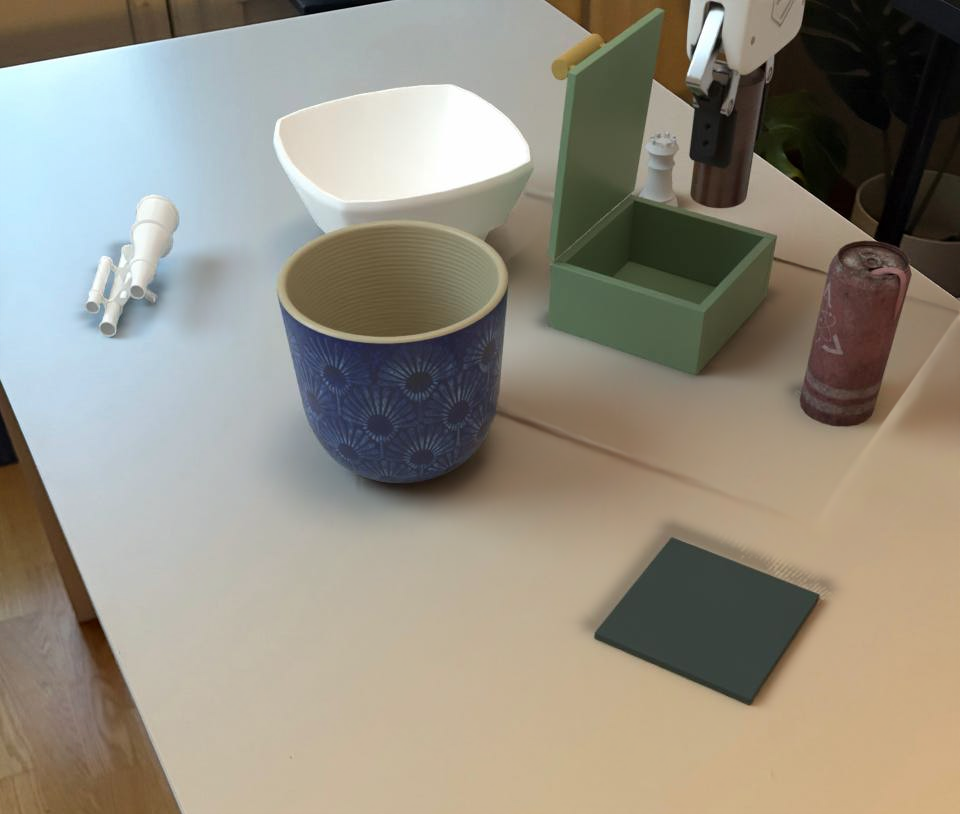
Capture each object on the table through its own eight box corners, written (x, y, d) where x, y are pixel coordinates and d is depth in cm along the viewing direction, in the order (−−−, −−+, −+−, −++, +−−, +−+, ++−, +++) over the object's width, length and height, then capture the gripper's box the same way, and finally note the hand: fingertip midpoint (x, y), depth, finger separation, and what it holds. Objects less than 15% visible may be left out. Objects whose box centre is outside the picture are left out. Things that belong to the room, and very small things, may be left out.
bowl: (340, 342, 111) (326, 219, 102) (266, 232, 124) (248, 114, 115) (558, 287, 116) (563, 165, 107) (465, 187, 129) (463, 71, 120)
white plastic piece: (129, 354, 113) (78, 319, 110) (150, 275, 122) (102, 241, 119) (177, 296, 109) (124, 258, 106) (194, 219, 118) (146, 182, 115)
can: (849, 445, 100) (891, 288, 89) (784, 414, 103) (817, 258, 92) (887, 412, 103) (933, 256, 92) (823, 383, 106) (860, 228, 95)
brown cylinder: (756, 190, 96) (775, 69, 89) (731, 214, 94) (749, 91, 87) (705, 176, 98) (721, 56, 91) (680, 199, 95) (694, 78, 88)
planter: (363, 542, 93) (344, 368, 81) (267, 429, 102) (237, 258, 91) (547, 466, 99) (553, 294, 87) (440, 366, 108) (433, 198, 96)
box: (764, 305, 114) (777, 235, 108) (694, 384, 106) (704, 312, 101) (624, 263, 119) (630, 193, 114) (547, 335, 111) (550, 264, 106)
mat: (818, 600, 88) (820, 594, 88) (749, 705, 82) (751, 699, 82) (670, 542, 93) (671, 536, 92) (593, 638, 86) (594, 632, 86)
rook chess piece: (625, 220, 124) (632, 140, 118) (647, 202, 127) (654, 123, 120) (663, 232, 123) (672, 152, 116) (685, 214, 125) (694, 134, 119)
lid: (665, 9, 101) (616, -7, 102) (576, 74, 93) (525, 56, 94) (634, 190, 113) (591, 174, 114) (554, 260, 105) (509, 242, 107)
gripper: (760, -89, 73) (719, 208, 87) (869, -161, 82) (816, 119, 96) (650, -109, 76) (627, 181, 90) (767, -177, 85) (729, 97, 99)
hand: (725, 146), depth 93 cm, fingers closed on brown cylinder, 4 cm apart
